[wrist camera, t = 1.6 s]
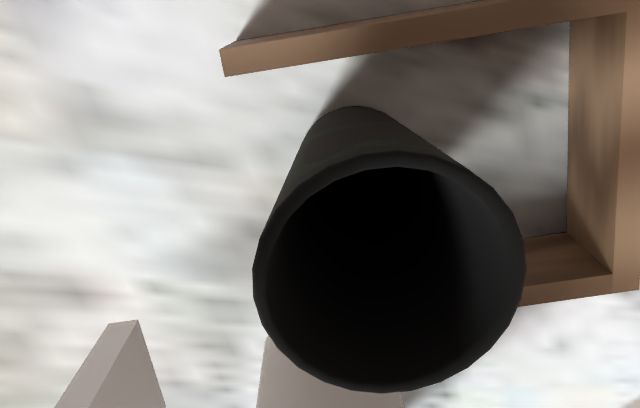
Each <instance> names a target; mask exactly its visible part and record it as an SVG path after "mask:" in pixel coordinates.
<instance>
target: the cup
mask: <svg viewBox="0 0 640 408" xmlns="http://www.w3.org/2000/svg"><path fill="white" fill-rule="evenodd" d="M526 270H527V269H526V259H525V249H524V240H523V238H522V235H521V233H520V230H519V228H518V225H517V223H516V220H515V218H514V215H513V213H512V211H511V210H510V209H509V207H508V206H507V205H506V204H505V202H504V201H503V200H502V198H501V197H500V196H499V195H498V193H497V192H496V191H495V190H494V188H493V187H491V186H490V185H489V184H487V183H486V182H485V181H483V180H482V179H480V178H479V177H478V176H476V175H475V174H474V173H472V172H471V171H470V170H468V169H467V168H465V167H464V166H462V165H461V164H459V163H458V162H456V161H455V160H454V159H452V158H451V157H449V156H448V155H446V154H445V153H443V152H442V151H440V150H439V149H437V148H436V147H434V146H433V145H431V144H430V143H428V142H427V141H425V140H424V139H422V138H421V137H419V136H418V135H416V134H415V133H413V132H412V131H410V130H409V129H407V128H406V127H404V126H403V125H401V124H400V123H399V122H397V121H396V120H394V119H393V118H391V117H390V116H388V115H387V114H385V113H383V112H381V111H378V110H376V109H373V108H369V107H362V106H352V107H343V108H340V109H338V110H335V111H332V112H330V113H328V114H327V115H325V116H324V117H322V118H321V119H319V120H318V121H317V122H316V123H315V124H314V125H313V126H312V127H311V129H310V130H309V131H308V133H307V135H306V136H305V138H304V140H303V142H302V144H301V146H300V149H299V151H298V153H297V155H296V158H295V160H294V162H293V164H292V167H291V169H290V171H289V174H288V176H287V178H286V180H285V183H284V185H283V187H282V189H281V192H280V194H279V196H278V198H277V201H276V203H275V205H274V207H273V210H272V212H271V214H270V216H269V219H268V221H267V223H266V225H265V228H264V230H263V232H262V234H261V237H260V239H259V243H258V247H257V251H256V255H255V260H254V264H253V268H252V273H253V298H254V301H255V304H256V307H257V311H258V314H259V317H260V320H261V323H262V325H263V327H264V329H265V330H266V332H267V333H268V335H269V336H270V338H271V339H272V341H273V342H274V344H275V346H276V347H277V349H279V350H280V351H281V352H282V353H283V354H284V355H285V356H286V357H287V358H288V359H289V360H290V361H291V362H293V363H294V364H295V365H296V366H297V367H298V368H300V369H301V370H303V371H305V372H307V373H308V374H310V375H312V376H314V377H315V378H317V379H319V380H321V381H323V382H325V383H328V384H331V385H335V386H338V387H341V388H344V389H348V390H351V391H359V392H370V393H380V394H383V393H393V392H403V391H412V390H416V389H419V388H422V387H426V386H429V385H432V384H436V383H439V382H442V381H444V380H445V379H447V378H449V377H451V376H453V375H455V374H457V373H459V372H461V371H463V370H464V369H466V368H468V367H469V366H470V365H472V364H473V363H474V362H475V361H476V360H478V359H479V358H480V357H481V356H483V355H484V354H485V353H486V352H487V351H489V350H490V349H491V348H492V347H493V345H494V344H495V343H496V341H497V340H498V339H499V338H500V336H501V335H502V334H503V333H504V331H505V330H506V329H507V327H508V326H509V325H510V322H511V320H512V318H513V316H514V314H515V311H516V309H517V307H518V305H519V303H520V301H521V298H522V293H523V287H524V281H525V276H526Z"/></svg>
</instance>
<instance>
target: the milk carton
mask: <svg viewBox="0 0 640 408" xmlns="http://www.w3.org/2000/svg"><path fill="white" fill-rule="evenodd" d="M256 408H404V404H403V400H402V395H401V392H393V393H383V394H380V393H370V392H359V391H351V390H348V389H344V388H341V387H338V386H335V385H331V384H328V383H325V382H323V381H321V380H319V379H317V378H315V377H314V376H312V375H310V374H308V373H307V372H305V371H303V370H301V369H300V368H298V367H297V366H296V365H295V364H294V363H293V362H291V361H290V360H289V359H288V358H287V357H286V356H285V355H284V354H283V353H282V352H281V351H280V350H279V349H277V347H276V346H275V344H274V342H273V341H272V339H271V338H270V337H267V338H266V340H265V344H264V352H263V359H262V367H261V374H260V382H259V389H258V397H257V404H256Z"/></svg>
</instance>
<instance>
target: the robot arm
mask: <svg viewBox="0 0 640 408" xmlns="http://www.w3.org/2000/svg"><path fill="white" fill-rule="evenodd" d="M165 407H166V405H165V402H164V399H163V396H162V392H161V389H160V386H159V383H158V380H157V377H156V374H155V371H154V368H153V365H152V362H151V358H150V355H149V352H148V349H147V346H146V343H145V340H144V337H143V334H142V331H141V327H140V324H139V321H138V320H132V321H125V322H118V323H111V324H108V326H107V327H106V329H105V330H104V332H103V333H102V335H101V336H100V338H99V339H98V341H97V342H96V344H95V346H94V347H93V349H92V350H91V352H90V353H89V355H88V356H87V358H86V359H85V361H84V363H83V364H82V366H81V367H80V369H79V370H78V372H77V373H76V375H75V376H74V378H73V380H72V381H71V383H70V384H69V386H68V387H67V389H66V390H65V392H64V393H63V395H62V396H61V398H60V400H59V401H58V403H57V404H56V406H55V407H54V408H165Z"/></svg>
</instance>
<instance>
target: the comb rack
mask: <svg viewBox="0 0 640 408" xmlns="http://www.w3.org/2000/svg"><path fill="white" fill-rule="evenodd" d="M567 21H570V51H569V113H568V174H567V232H564V233H557V234H550V235H544V236H537V237H530V238H523V240H524V249H525V259H526V269H527V270H526V276H525V281H524V287H523V293H522V298H521V301H520V303H519V305H518V307H520V306H527V305H534V304H541V303H548V302H556V301H563V300H570V299H577V298H584V297H591V296H598V295H605V294H612V293H619V292H626V291H633V290H639V283H640V0H481V1H475V2H469V3H463V4H457V5H451V6H445V7H439V8H433V9H427V10H421V11H415V12H409V13H403V14H397V15H391V16H385V17H378V18H372V19H366V20H360V21H354V22H348V23H342V24H336V25H330V26H324V27H318V28H312V29H306V30H300V31H294V32H288V33H282V34H276V35H269V36H263V37H257V38H251V39H245V40H239V41H235V42H233V43H231V44H229V45H227V46H225V47H223V48H222V49H220V50H219V52H220V57H221V61H222V66H223V71H224V75H225V77H228V76H234V75H241V74H247V73H253V72H259V71H265V70H271V69H277V68H284V67H290V66H296V65H302V64H308V63H314V62H321V61H327V60H333V59H339V58H345V57H351V56H357V55H364V54H370V53H376V52H382V51H388V50H394V49H401V48H407V47H413V46H419V45H425V44H431V43H438V42H444V41H450V40H456V39H462V38H468V37H474V36H481V35H487V34H493V33H499V32H505V31H511V30H518V29H524V28H530V27H536V26H542V25H548V24H554V23H561V22H567Z"/></svg>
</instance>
